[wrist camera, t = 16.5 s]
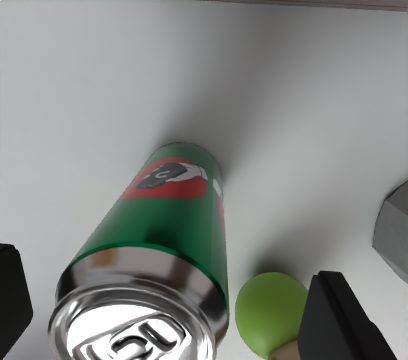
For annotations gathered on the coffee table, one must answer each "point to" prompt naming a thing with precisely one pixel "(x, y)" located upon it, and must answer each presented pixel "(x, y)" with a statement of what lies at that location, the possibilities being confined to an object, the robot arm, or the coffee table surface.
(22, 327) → the robot arm
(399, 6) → the chest
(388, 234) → the coffeepot
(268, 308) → the snail figurine
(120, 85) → the coffee table surface
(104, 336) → the soda can
